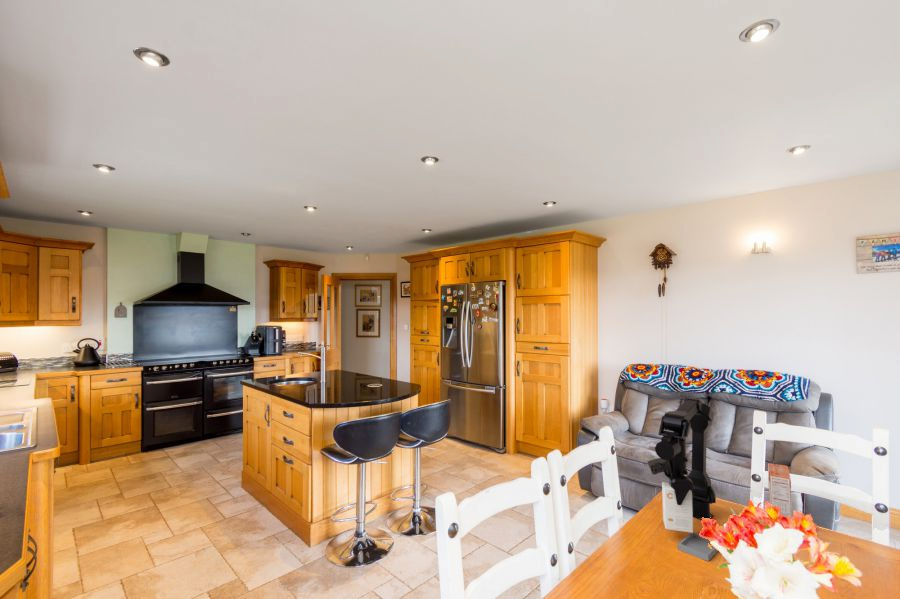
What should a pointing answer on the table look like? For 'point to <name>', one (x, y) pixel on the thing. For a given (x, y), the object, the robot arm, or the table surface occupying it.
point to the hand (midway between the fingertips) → (677, 500)
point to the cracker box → (780, 488)
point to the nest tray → (697, 546)
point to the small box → (677, 510)
